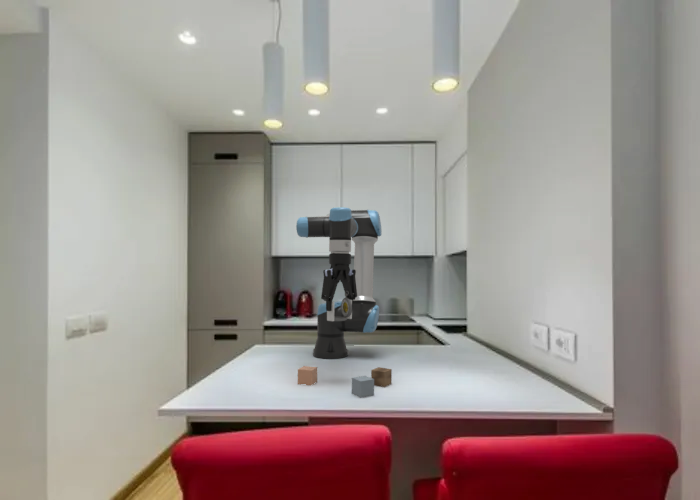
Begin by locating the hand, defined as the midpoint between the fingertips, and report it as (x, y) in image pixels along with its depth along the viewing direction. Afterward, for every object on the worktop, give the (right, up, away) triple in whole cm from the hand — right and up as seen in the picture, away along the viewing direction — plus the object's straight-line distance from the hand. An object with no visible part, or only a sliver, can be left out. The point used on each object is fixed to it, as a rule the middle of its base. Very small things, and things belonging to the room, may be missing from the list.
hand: (339, 319), depth 153 cm
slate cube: (+8, -21, -14) cm, 27 cm away
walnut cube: (+14, -21, -3) cm, 26 cm away
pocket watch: (0, -1, 0) cm, 1 cm away
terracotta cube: (-11, -21, -2) cm, 24 cm away
